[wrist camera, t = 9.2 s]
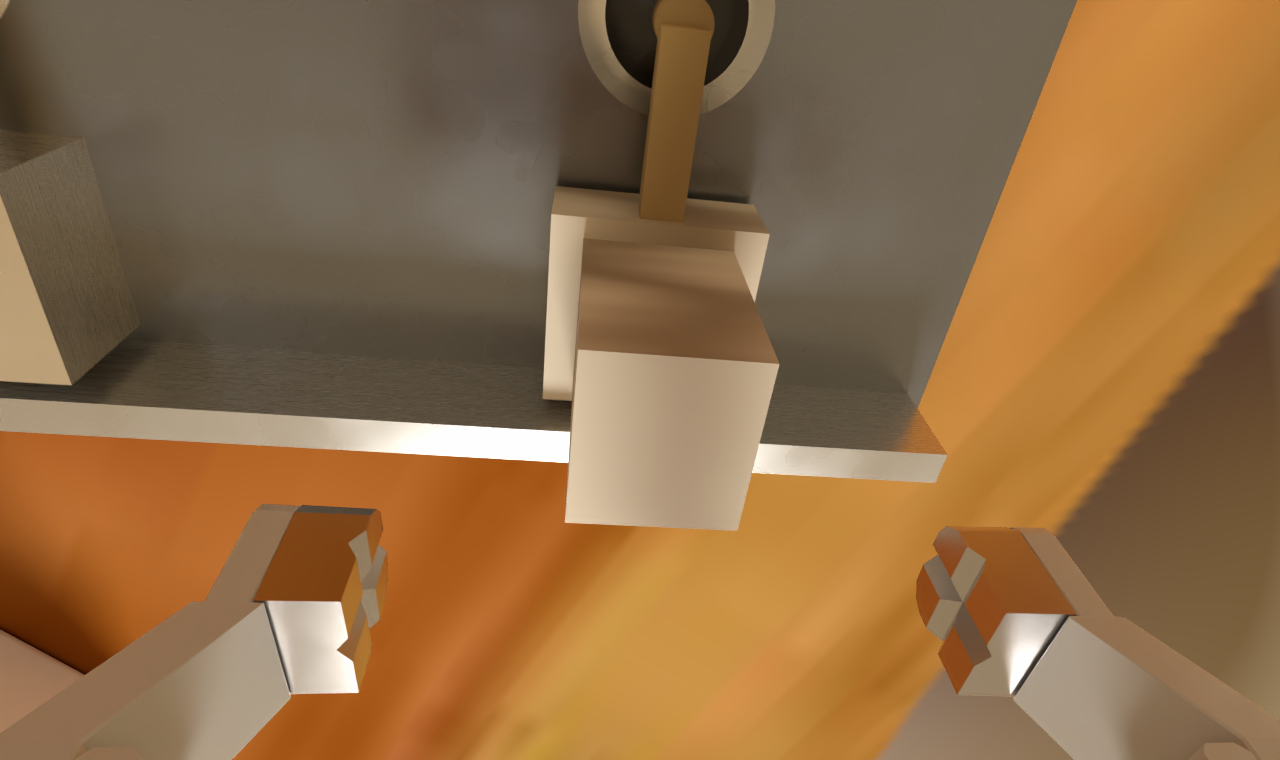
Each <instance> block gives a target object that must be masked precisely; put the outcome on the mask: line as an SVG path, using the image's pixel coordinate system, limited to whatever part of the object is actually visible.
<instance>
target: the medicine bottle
mask: <svg viewBox="0 0 1280 760" xmlns="http://www.w3.org/2000/svg"><path fill="white" fill-rule="evenodd" d="M83 676H84V674H82V673H80V672H79V671H77V670H75V669H73V668H71V667H69V666H67V665H66V664H64V663H62V662H60V661H58V660H56V659H54V658H53V657H51V656H49V655H47V654H45V653H43V652H42V651H40V650H38V649H36V648H34V647H32V646H30V645H29V644H27V643H25V642H23V641H21V640H19V639H17V638H16V637H14V636H12V635H10V634H8V633H6V632H4V631H3V630H1V629H0V733H1V732H3V731H4V730H6V729H7V728H9V727H10V726H11V725H13V724H14V723H16V722H17V721H19V720H20V719H22V718H23V717H25V716H26V715H27V714H29V713H30V712H32V711H33V710H35V709H36V708H38V707H39V706H41V705H42V704H44V703H45V702H46V701H48V700H49V699H51V698H52V697H54V696H55V695H57V694H58V693H60V692H61V691H62V690H64V689H65V688H67V687H68V686H70V685H71V684H73V683H74V682H76V681H77V680H78V679H80V678H81V677H83Z"/></svg>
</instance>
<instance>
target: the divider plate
mask: <svg viewBox="0 0 1280 760" xmlns="http://www.w3.org/2000/svg"><path fill="white" fill-rule="evenodd" d="M657 1H658V0H0V431H12V432H30V433H48V434H66V435H84V436H102V437H120V438H138V439H156V440H174V441H192V442H210V443H228V444H246V445H264V446H282V447H300V448H317V449H335V450H353V451H371V452H389V453H407V454H425V455H443V456H461V457H479V458H497V459H515V460H533V461H551V462H568V459H569V441H570V423H571V405H572V401H567V400H552V399H543V379H544V358H545V337H546V315H547V294H548V272H549V251H550V230H551V212H552V206H553V200H554V194H555V187H556V186H561V187H572V188H583V189H593V190H604V191H614V192H625V193H635V194H640V187H641V179H642V170H643V161H644V152H645V143H646V135H647V126H648V117H649V108H650V100H651V91H652V82H653V73H654V64H655V56H656V47H657V36H656V34H655V32H654V29H653V25H652V14H653V10H654V7H655V5H656V3H657ZM705 1H706V2H707V3H708V5H709V6H710V8H711V10H712V12H713V16H714V24H715V26H714V33H713V36H712V39H711V41H710V48H709V54H708V61H707V68H706V74H705V81H704V88H703V94H702V101H701V108H700V114H699V121H698V128H697V134H696V141H695V147H694V154H693V161H692V167H691V174H690V181H689V187H688V194H687V198H688V199H699V200H709V201H720V202H731V203H741V204H752V205H754V206H755V208H756V209H757V211H758V213H759V215H760V217H761V219H762V221H763V222H764V224H765V226H766V228H767V230H768V232H769V233H770V235H769V240H768V244H767V249H766V253H765V258H764V263H763V267H762V272H761V276H760V281H759V285H758V290H757V294H756V299H755V305H756V307H757V310H758V312H759V315H760V317H761V320H762V322H763V324H764V327H765V329H766V332H767V334H768V337H769V339H770V342H771V344H772V347H773V349H774V352H775V354H776V356H777V359H778V361H779V368H778V372H777V376H776V380H775V384H774V388H773V392H772V396H771V400H770V404H769V408H768V411H767V415H766V419H765V423H764V427H763V431H762V435H761V439H760V443H759V447H758V451H757V455H756V459H755V463H754V467H753V470H752V473H767V474H785V475H803V476H820V477H838V478H856V479H874V480H892V481H910V482H928V483H935V482H936V480H937V478H938V475H939V473H940V471H941V469H942V466H943V464H944V462H945V459H946V457H947V453H946V452H945V450H944V449H943V447H942V446H941V444H940V443H939V441H938V440H937V438H936V436H935V435H934V433H933V432H932V430H931V429H930V427H929V426H928V424H927V423H926V421H925V420H924V418H923V416H922V415H921V413H920V412H919V410H918V409H917V408H918V406H919V403H920V401H921V398H922V395H923V393H924V390H925V388H926V385H927V383H928V380H929V378H930V375H931V372H932V370H933V367H934V365H935V362H936V360H937V357H938V354H939V352H940V349H941V347H942V344H943V342H944V339H945V337H946V334H947V331H948V329H949V326H950V324H951V321H952V319H953V316H954V314H955V311H956V308H957V306H958V303H959V301H960V298H961V296H962V293H963V291H964V288H965V285H966V283H967V280H968V278H969V275H970V273H971V270H972V268H973V265H974V262H975V260H976V257H977V255H978V252H979V250H980V247H981V245H982V242H983V239H984V237H985V234H986V232H987V229H988V227H989V224H990V222H991V219H992V216H993V214H994V211H995V209H996V206H997V204H998V201H999V199H1000V196H1001V193H1002V191H1003V188H1004V186H1005V183H1006V181H1007V178H1008V175H1009V173H1010V170H1011V168H1012V165H1013V163H1014V160H1015V158H1016V155H1017V152H1018V150H1019V147H1020V145H1021V142H1022V140H1023V137H1024V135H1025V132H1026V129H1027V127H1028V124H1029V122H1030V119H1031V117H1032V114H1033V112H1034V109H1035V106H1036V104H1037V101H1038V99H1039V96H1040V94H1041V91H1042V89H1043V86H1044V83H1045V81H1046V78H1047V76H1048V73H1049V71H1050V68H1051V66H1052V63H1053V60H1054V58H1055V55H1056V53H1057V50H1058V48H1059V45H1060V43H1061V40H1062V37H1063V35H1064V32H1065V30H1066V27H1067V25H1068V22H1069V20H1070V17H1071V14H1072V12H1073V9H1074V7H1075V4H1076V2H1077V0H705Z"/></svg>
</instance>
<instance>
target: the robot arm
mask: <svg viewBox="0 0 1280 760" xmlns="http://www.w3.org/2000/svg"><path fill="white" fill-rule="evenodd" d="M382 531H383V525H382V519H381V513H380V511H378V510H376V509H363V508H345V507H326V506H308V505H302V506H294V505H276V504H262V505H261V506H260V507H259V508H257V509H256V510H255V511H254V512H253V513H252V515H251V517H250V519H249V521H248V523H247V524H246V526H245V528H244V530H243V532H242V534H241V535H240V537H239V539H238V541H237V543H236V545H235V546H234V548H233V550H232V552H231V554H230V556H229V557H228V559H227V561H226V563H225V565H224V567H223V568H222V570H221V572H220V574H219V576H218V578H217V579H216V581H215V583H214V585H213V587H212V589H211V590H210V592H209V594H208V596H207V598H206V600H205V601H204V602H191V603H189V604H188V605H186V606H185V607H183V608H182V609H180V610H179V611H178V612H176V613H175V614H173V615H172V616H170V617H169V618H167V619H166V620H164V621H163V622H162V623H160V624H159V625H157V626H156V627H154V628H153V629H151V630H150V631H148V632H147V633H146V634H144V635H143V636H141V637H140V638H138V639H137V640H135V641H134V642H132V643H131V644H129V645H128V646H127V647H125V648H124V649H122V650H121V651H119V652H118V653H116V654H115V655H113V656H112V657H111V658H109V659H108V660H106V661H105V662H103V663H102V664H100V665H99V666H97V667H96V668H95V669H93V670H92V671H90V672H89V673H87V674H86V675H84V676H83V677H81V678H80V679H78V680H77V681H76V682H74V683H73V684H71V685H70V686H68V687H67V688H65V689H64V690H62V691H61V692H60V693H58V694H57V695H55V696H54V697H52V698H51V699H49V700H48V701H46V702H45V703H44V704H42V705H41V706H39V707H38V708H36V709H35V710H33V711H32V712H30V713H29V714H27V715H26V716H25V717H23V718H22V719H20V720H19V721H17V722H16V723H14V724H13V725H11V726H10V727H9V728H7V729H6V730H4V731H3V732H1V733H0V760H232V759H233V758H234V757H235V756H236V755H237V754H238V753H239V752H240V751H241V750H242V749H243V748H244V747H245V746H246V744H247V743H248V742H249V741H250V740H251V739H252V738H253V737H254V736H255V735H256V734H257V733H258V732H259V731H260V730H261V729H262V728H263V727H264V726H265V725H266V724H267V723H268V722H269V720H270V719H271V718H272V717H273V716H274V715H275V714H276V713H277V712H278V711H279V710H280V709H281V708H282V707H283V706H284V705H285V704H286V703H287V702H288V701H289V700H290V699H291V696H290V694H317V693H359V690H360V686H361V683H362V679H363V676H364V673H365V669H366V666H367V662H368V659H369V656H370V652H371V649H372V646H371V640H370V634H369V629H370V628H371V627H372V626H373V625H374V624H375V623H376V622H378V621H379V620H380V617H381V613H382V610H383V606H384V602H385V596H386V589H387V582H388V561H387V553H386V551H385V550H384V549H383V548H382V547H381V546H379V545H378V544H379V541H380V538H381V535H382ZM933 545H934V548H935V550H936V552H937V554H938V555H937V556H935V557H934V558H932V559H931V560H929V561H928V562H927V563H925V564H924V565H923V567H922V569H921V571H920V574H919V576H918V579H917V588H916V600H917V604H918V608H919V613H920V615H921V617H922V620H923V622H924V624H925V626H926V628H927V629H928V630H930V631H931V632H932V633H933V634H935V635H936V636H937V637H938V638H939V639H941V640H942V642H941V646H940V649H939V653H938V655H939V657H940V659H941V661H942V663H943V665H944V667H945V669H946V672H947V674H948V676H949V678H950V680H951V682H952V684H953V686H954V689H955V691H956V693H957V694H958V695H978V696H1008V697H1010V696H1011V697H1014V699H1013V700H1014V701H1015V702H1016V703H1017V704H1018V705H1019V706H1020V707H1021V708H1022V709H1023V710H1024V711H1025V712H1026V713H1027V714H1028V715H1029V716H1030V717H1031V718H1032V719H1033V720H1034V721H1035V722H1036V723H1037V724H1038V725H1039V726H1040V727H1042V728H1043V730H1045V731H1046V732H1047V733H1048V734H1049V735H1050V736H1051V737H1052V738H1053V739H1054V740H1055V741H1056V742H1057V743H1058V744H1059V745H1060V746H1061V747H1062V748H1063V749H1064V750H1065V751H1066V752H1067V753H1068V754H1069V755H1070V756H1071V757H1072V758H1073V759H1074V760H1280V720H1279V719H1277V718H1276V717H1274V716H1273V715H1271V714H1270V713H1268V712H1267V711H1265V710H1264V709H1262V708H1261V707H1259V706H1257V705H1256V704H1255V703H1253V702H1252V701H1250V700H1248V699H1247V698H1246V697H1244V696H1243V695H1241V694H1239V693H1238V692H1236V691H1235V690H1233V689H1232V688H1230V687H1229V686H1227V685H1226V684H1224V683H1223V682H1221V681H1220V680H1218V679H1217V678H1215V677H1214V676H1212V675H1210V674H1209V673H1208V672H1206V671H1204V670H1203V669H1202V668H1200V667H1198V666H1197V665H1196V664H1194V663H1193V662H1191V661H1190V660H1188V659H1187V658H1185V657H1184V656H1182V655H1181V654H1179V653H1177V652H1176V651H1174V650H1173V649H1171V648H1170V647H1168V646H1167V645H1165V644H1164V643H1162V642H1161V641H1159V640H1158V639H1156V638H1155V637H1153V636H1152V635H1150V634H1149V633H1147V632H1146V631H1144V630H1143V629H1141V628H1140V627H1138V626H1136V625H1135V624H1134V623H1132V622H1130V621H1129V620H1128V619H1126V618H1124V617H1114V616H1113V615H1112V613H1111V612H1110V611H1109V609H1108V608H1107V607H1106V605H1105V604H1104V603H1103V601H1102V600H1101V598H1100V597H1099V596H1098V594H1097V593H1096V592H1095V590H1094V589H1093V588H1092V586H1091V585H1090V583H1089V582H1088V581H1087V579H1086V578H1085V577H1084V575H1083V574H1082V573H1081V571H1080V570H1079V568H1078V567H1077V566H1076V564H1075V563H1074V562H1073V560H1072V559H1071V558H1070V556H1069V555H1068V553H1067V552H1066V551H1065V549H1064V548H1063V547H1062V545H1061V544H1060V543H1059V541H1058V540H1057V538H1056V537H1055V536H1054V535H1053V534H1052V533H1051V532H1049V531H1048V530H1046V529H1045V528H1013V527H1012V528H1006V527H963V526H946V527H945V528H944V529H942V530H941V531H940V532H939V533H938V535H937V537H936V539H935V541H934V543H933Z"/></svg>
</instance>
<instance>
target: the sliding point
mask: <svg viewBox="0 0 1280 760" xmlns="http://www.w3.org/2000/svg"><path fill="white" fill-rule="evenodd" d="M652 25H653V29H654V32H655V34H656V36H657V47H656V56H655V64H654V73H653V82H652V91H651V100H650V108H649V117H648V126H647V135H646V143H645V152H644V161H643V170H642V179H641V187H640V194H635V193H625V192H614V191H604V190H593V189H583V188H572V187H561V186H556V187H555V194H554V200H553V206H552V212H551V230H550V251H549V272H548V294H547V315H546V337H545V358H544V379H543V399H552V400H567V401H572V405H571V423H570V441H569V459H568V477H567V495H566V513H565V523H585V524H606V525H628V526H649V527H670V528H691V529H713V530H734V531H737V529H738V526H739V522H740V518H741V514H742V510H743V506H744V502H745V498H746V494H747V490H748V486H749V482H750V478H751V474H752V470H753V467H754V463H755V459H756V455H757V451H758V447H759V443H760V439H761V435H762V431H763V427H764V423H765V419H766V415H767V411H768V408H769V404H770V400H771V396H772V392H773V388H774V384H775V380H776V376H777V372H778V368H779V361H778V359H777V356H776V354H775V352H774V349H773V347H772V344H771V342H770V339H769V337H768V334H767V332H766V329H765V327H764V324H763V322H762V320H761V317H760V315H759V312H758V310H757V307H756V305H755V299H756V294H757V290H758V285H759V281H760V276H761V272H762V267H763V263H764V258H765V253H766V249H767V244H768V240H769V235H770V233H769V232H768V230H767V228H766V226H765V224H764V222H763V221H762V219H761V217H760V215H759V213H758V211H757V209H756V208H755V206H754V205H752V204H741V203H731V202H720V201H709V200H699V199H688V198H687V194H688V187H689V181H690V174H691V167H692V161H693V154H694V147H695V141H696V134H697V128H698V121H699V114H700V108H701V101H702V94H703V88H704V81H705V74H706V68H707V61H708V54H709V48H710V41H711V39H712V36H713V33H714V26H715V24H714V16H713V12H712V10H711V8H710V6H709V5H708V3H707V2H706V1H705V0H658V1H657V3H656V5H655V7H654V10H653V14H652Z"/></svg>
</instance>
